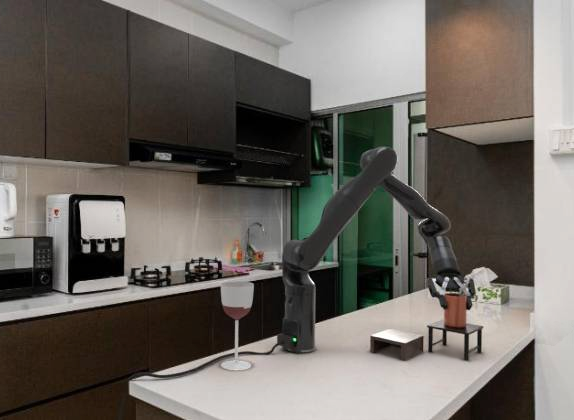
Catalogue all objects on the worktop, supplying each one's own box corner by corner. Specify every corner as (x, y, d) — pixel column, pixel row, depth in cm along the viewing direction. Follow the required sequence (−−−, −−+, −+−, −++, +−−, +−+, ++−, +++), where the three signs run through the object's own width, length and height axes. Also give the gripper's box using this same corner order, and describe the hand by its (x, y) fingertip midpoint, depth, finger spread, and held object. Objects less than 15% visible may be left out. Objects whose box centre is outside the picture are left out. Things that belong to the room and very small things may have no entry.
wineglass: (257, 362, 131) (259, 283, 131) (243, 373, 122) (244, 288, 122) (229, 357, 135) (230, 280, 135) (213, 368, 126) (214, 285, 126)
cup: (461, 328, 139) (462, 297, 139) (440, 324, 143) (440, 294, 143) (469, 324, 143) (470, 294, 143) (448, 321, 148) (449, 292, 147)
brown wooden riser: (404, 360, 134) (405, 343, 134) (370, 352, 142) (370, 335, 142) (423, 352, 143) (423, 335, 143) (389, 344, 151) (389, 328, 151)
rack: (468, 361, 135) (468, 333, 135) (426, 351, 143) (427, 325, 143) (483, 352, 143) (483, 326, 143) (442, 344, 152) (443, 319, 152)
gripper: (424, 256, 151) (435, 300, 139) (471, 257, 150) (486, 302, 138) (419, 270, 156) (429, 314, 145) (464, 271, 155) (478, 316, 143)
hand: (457, 308), depth 141 cm, fingers closed on cup, 6 cm apart
